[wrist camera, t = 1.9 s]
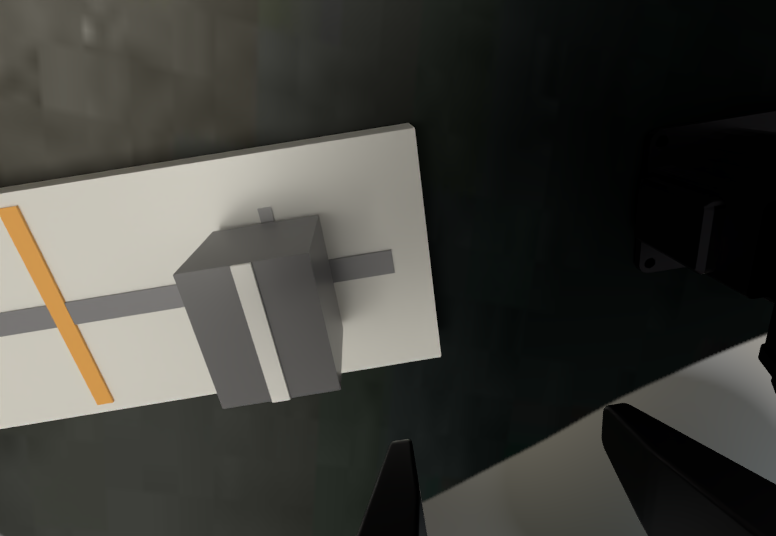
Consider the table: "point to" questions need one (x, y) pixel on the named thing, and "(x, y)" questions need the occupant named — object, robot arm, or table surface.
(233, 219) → the slider track board
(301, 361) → the fader
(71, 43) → the table surface
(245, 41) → the table surface
